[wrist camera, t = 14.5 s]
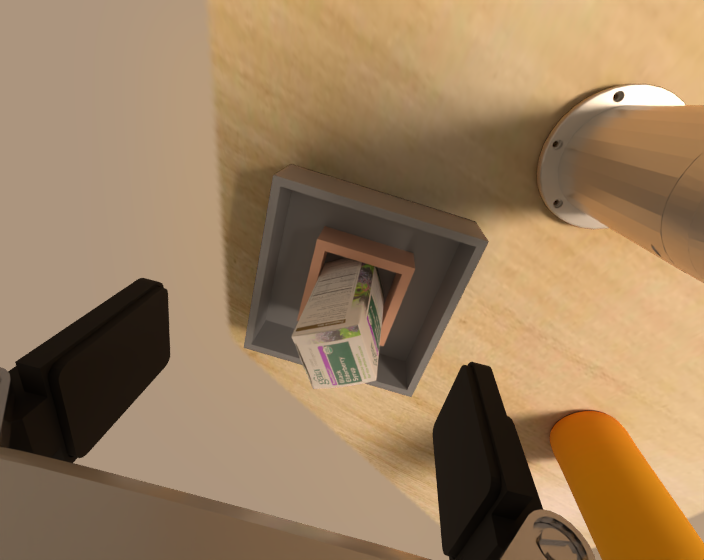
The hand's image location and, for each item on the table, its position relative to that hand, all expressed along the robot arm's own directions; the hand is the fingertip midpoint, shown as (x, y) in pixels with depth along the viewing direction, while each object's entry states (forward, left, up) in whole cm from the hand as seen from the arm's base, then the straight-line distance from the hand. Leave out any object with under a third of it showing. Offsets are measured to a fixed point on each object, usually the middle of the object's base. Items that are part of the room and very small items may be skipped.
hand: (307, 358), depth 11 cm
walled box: (-2, +11, -29) cm, 30 cm away
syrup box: (-2, +11, -28) cm, 30 cm away
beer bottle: (-38, +24, -29) cm, 53 cm away
